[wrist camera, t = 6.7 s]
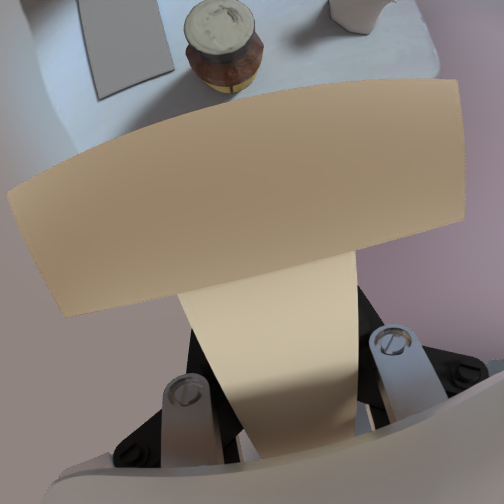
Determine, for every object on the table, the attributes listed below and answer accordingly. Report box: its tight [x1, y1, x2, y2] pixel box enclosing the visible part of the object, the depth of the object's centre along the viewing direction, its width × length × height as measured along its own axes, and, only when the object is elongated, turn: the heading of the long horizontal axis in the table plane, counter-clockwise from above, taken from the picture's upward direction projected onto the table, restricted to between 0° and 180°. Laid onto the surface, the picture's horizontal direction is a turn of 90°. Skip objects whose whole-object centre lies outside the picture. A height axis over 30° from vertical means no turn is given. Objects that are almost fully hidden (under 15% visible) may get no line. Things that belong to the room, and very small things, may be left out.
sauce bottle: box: [184, 0, 264, 93], centre depth 22 cm, size 6×6×20 cm
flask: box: [329, 0, 398, 35], centre depth 23 cm, size 7×7×10 cm
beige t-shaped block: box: [6, 79, 466, 459], centre depth 9 cm, size 14×6×7 cm, turn 13°
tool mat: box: [78, 0, 175, 99], centre depth 25 cm, size 22×10×1 cm, turn 14°
